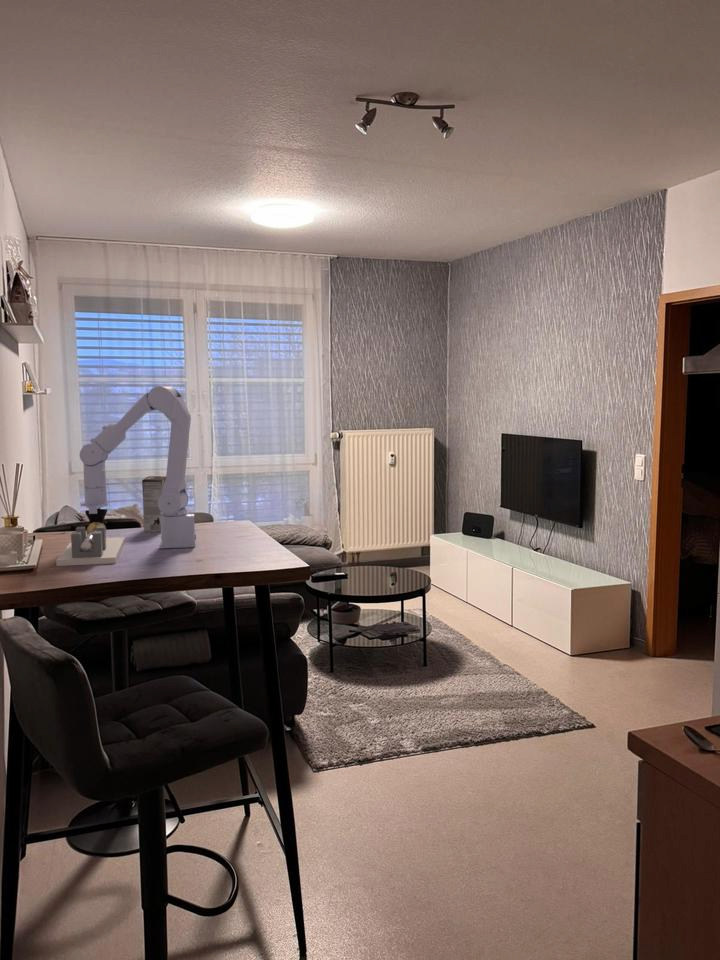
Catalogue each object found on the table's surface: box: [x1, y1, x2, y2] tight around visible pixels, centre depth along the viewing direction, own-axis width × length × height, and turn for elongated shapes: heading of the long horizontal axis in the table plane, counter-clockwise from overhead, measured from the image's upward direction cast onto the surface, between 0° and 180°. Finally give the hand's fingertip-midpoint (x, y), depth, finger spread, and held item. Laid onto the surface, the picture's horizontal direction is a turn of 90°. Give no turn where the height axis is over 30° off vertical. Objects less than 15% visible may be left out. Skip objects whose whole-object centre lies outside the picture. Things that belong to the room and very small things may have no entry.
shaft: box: [80, 522, 107, 552], centre depth 203 cm, size 5×23×5 cm, turn 12°
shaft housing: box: [55, 525, 126, 567], centre depth 205 cm, size 14×27×8 cm, turn 12°
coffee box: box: [141, 475, 166, 533], centre depth 240 cm, size 9×6×16 cm
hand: (97, 535), depth 215 cm, fingers closed
